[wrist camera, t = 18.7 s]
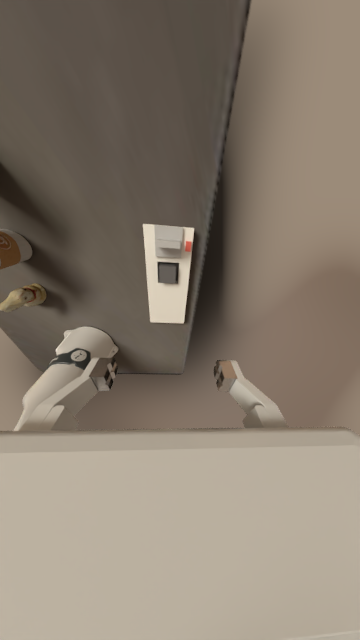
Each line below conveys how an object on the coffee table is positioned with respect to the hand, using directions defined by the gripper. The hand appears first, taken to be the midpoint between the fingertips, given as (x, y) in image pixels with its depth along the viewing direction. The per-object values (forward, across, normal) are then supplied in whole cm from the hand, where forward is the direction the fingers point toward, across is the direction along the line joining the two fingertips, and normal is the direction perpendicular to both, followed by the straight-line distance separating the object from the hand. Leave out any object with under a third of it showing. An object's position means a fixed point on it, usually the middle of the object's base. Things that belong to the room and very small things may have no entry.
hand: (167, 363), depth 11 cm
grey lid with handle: (+28, +1, -6) cm, 29 cm away
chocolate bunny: (+31, +39, +10) cm, 51 cm away
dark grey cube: (+30, +1, +1) cm, 30 cm away
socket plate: (+31, +1, +4) cm, 31 cm away
